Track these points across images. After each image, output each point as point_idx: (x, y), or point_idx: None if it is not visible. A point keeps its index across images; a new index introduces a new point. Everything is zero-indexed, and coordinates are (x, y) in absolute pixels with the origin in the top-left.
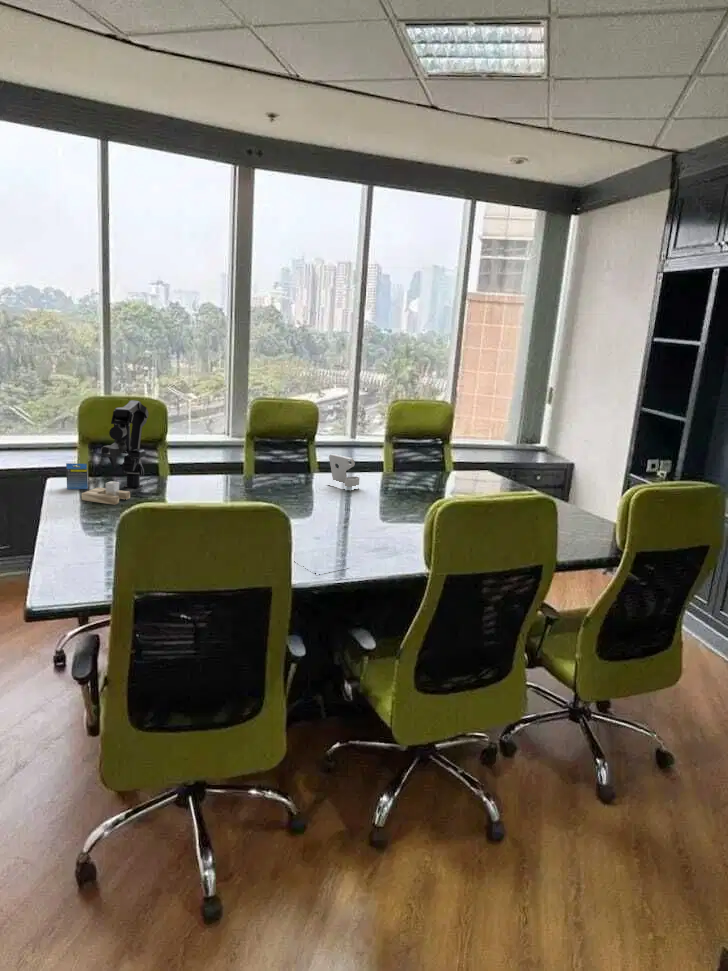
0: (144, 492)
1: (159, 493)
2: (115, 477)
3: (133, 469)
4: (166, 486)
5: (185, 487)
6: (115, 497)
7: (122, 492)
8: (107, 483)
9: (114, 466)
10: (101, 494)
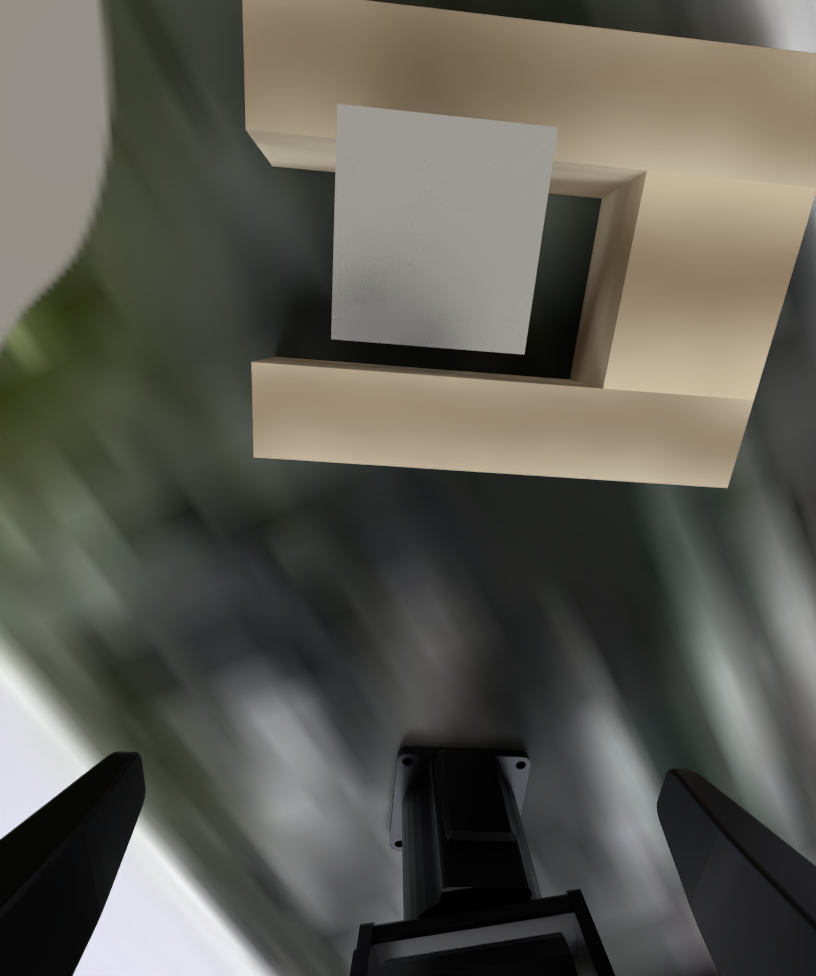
0: (268, 683)
1: (121, 706)
2: None
3: (71, 806)
4: (209, 900)
5: None
6: (257, 33)
7: (323, 379)
8: (507, 124)
9: (698, 840)
10: None
